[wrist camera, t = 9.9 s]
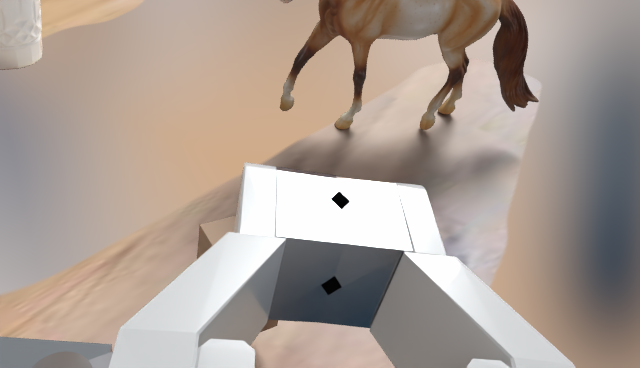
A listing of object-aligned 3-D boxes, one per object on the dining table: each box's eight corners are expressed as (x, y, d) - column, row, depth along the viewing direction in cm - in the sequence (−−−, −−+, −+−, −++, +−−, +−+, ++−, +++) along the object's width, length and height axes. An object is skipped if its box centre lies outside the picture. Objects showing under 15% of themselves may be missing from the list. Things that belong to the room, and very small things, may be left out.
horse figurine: (250, 136, 54) (281, -87, 41) (240, 95, 59) (265, -113, 47) (517, 145, 63) (610, -36, 50) (487, 108, 68) (564, -63, 56)
